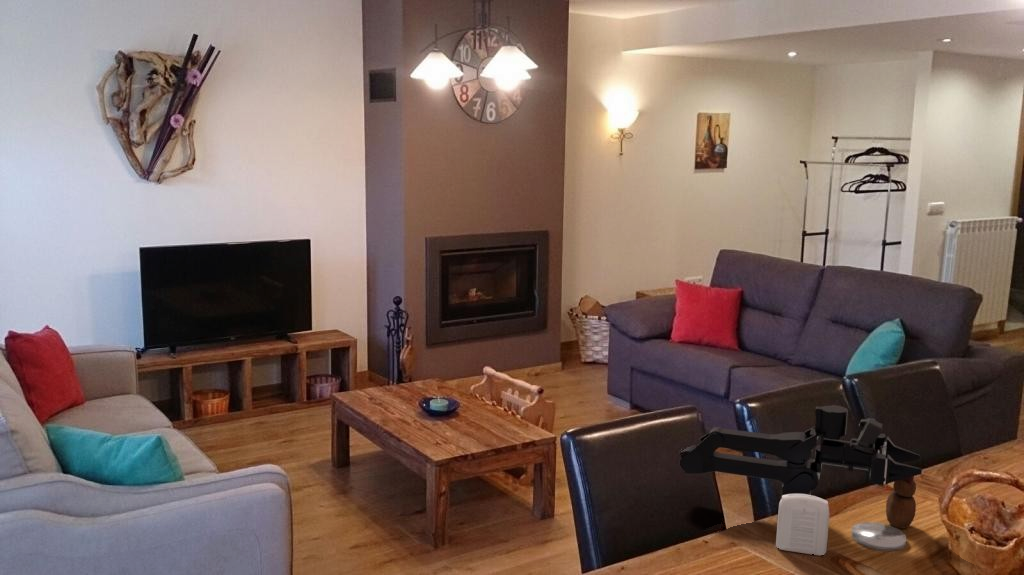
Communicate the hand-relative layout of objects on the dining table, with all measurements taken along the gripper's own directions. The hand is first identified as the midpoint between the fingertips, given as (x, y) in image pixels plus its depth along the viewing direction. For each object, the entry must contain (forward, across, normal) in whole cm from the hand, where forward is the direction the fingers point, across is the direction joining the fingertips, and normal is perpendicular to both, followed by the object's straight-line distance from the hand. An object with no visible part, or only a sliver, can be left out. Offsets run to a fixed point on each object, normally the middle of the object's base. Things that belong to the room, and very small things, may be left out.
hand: (920, 464), depth 196 cm
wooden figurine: (-3, +5, +17) cm, 18 cm away
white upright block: (-22, -17, +17) cm, 33 cm away
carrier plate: (-7, -5, +17) cm, 19 cm away
